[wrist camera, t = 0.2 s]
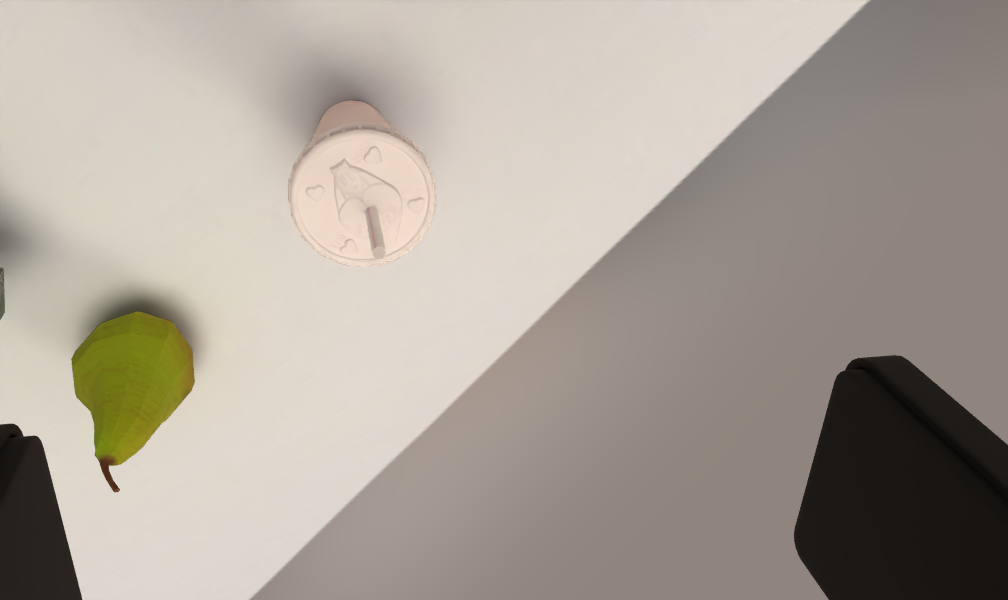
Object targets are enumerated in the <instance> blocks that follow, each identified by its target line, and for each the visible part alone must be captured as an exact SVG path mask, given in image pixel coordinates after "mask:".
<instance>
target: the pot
mask: <svg viewBox="0 0 1008 600" xmlns="http://www.w3.org/2000/svg"><path fill="white" fill-rule="evenodd" d="M4 313H5V296H4V269H3V268H0V319H1V318H2V316H3V314H4Z"/></svg>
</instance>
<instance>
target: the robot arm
mask: <svg viewBox="0 0 1008 600" xmlns="http://www.w3.org/2000/svg"><path fill="white" fill-rule="evenodd" d="M794 541H795V546H796V550H797V552H798V555H799V557H800V558H801V560H802V562H803V563H804V565H805V566H806V568H807V569H808V570H809V572H810V573H811V575H812V576H813V578H814V579H815V580H816V582H817V583H818V585H819V586H820V588H821V589H822V590H823V592H824V593H825V595H826V596H827V597H828V599H829V600H1008V445H1007V444H1006V443H1005V442H1004V441H1002V440H1001V439H1000V438H999V437H998V436H997V435H995V434H994V433H993V432H992V431H991V430H990V429H988V428H987V427H986V426H985V425H984V424H982V423H981V422H980V421H979V420H978V419H977V418H975V417H974V416H973V415H972V414H970V412H968V411H967V410H966V409H965V408H964V407H963V406H961V405H960V404H959V403H958V402H957V401H955V400H954V399H953V398H952V397H951V396H950V395H948V394H947V393H946V392H945V391H944V390H943V389H941V388H940V387H939V386H938V385H937V384H936V383H934V382H933V381H932V380H931V379H929V378H928V377H927V376H926V375H925V374H924V373H923V372H921V371H920V370H919V369H918V368H917V367H916V366H914V365H913V364H912V363H911V362H910V361H908V360H907V359H905V358H904V357H902V356H896V355H893V356H880V357H867V358H857V359H855V360H852V361H851V362H850V363H849V364H848V366H847V368H846V370H845V371H842V372H840V373H839V374H838V375H837V377H836V380H835V382H834V386H833V389H832V393H831V397H830V400H829V404H828V408H827V411H826V415H825V419H824V423H823V426H822V430H821V434H820V437H819V441H818V445H817V448H816V452H815V456H814V460H813V463H812V467H811V470H810V474H809V478H808V482H807V486H806V489H805V493H804V496H803V500H802V504H801V507H800V511H799V515H798V519H797V522H796V526H795V531H794ZM0 600H82V596H81V592H80V589H79V585H78V581H77V577H76V573H75V569H74V565H73V561H72V557H71V553H70V549H69V546H68V542H67V538H66V534H65V530H64V526H63V522H62V518H61V514H60V510H59V506H58V502H57V499H56V495H55V491H54V487H53V483H52V479H51V475H50V471H49V467H48V463H47V459H46V456H45V452H44V448H43V445H42V442H41V440H40V439H39V437H37V436H25V437H24V436H23V434H22V431H21V430H20V428H19V427H18V426H17V425H15V424H1V425H0Z"/></svg>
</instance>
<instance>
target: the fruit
mask: <svg viewBox="0 0 1008 600" xmlns="http://www.w3.org/2000/svg"><path fill="white" fill-rule="evenodd" d="M71 360H72V369H73V378H74V387H75V393H76V396H77V398H78V399H79V400H80V401H81V402H82V403H83V404H84V405H85V406H86V407H87V408H88V409H89V410H90V411H91V414H92V418H93V421H94V430H95V432H94V444H95V456H96V457H97V459H98V460H99V462H100V466H101V469H102V472H103V474H104V476H105V478H106V480H107V482H108V483H109V485H110V487H111V488H112V490H113V491H114V492H119V490H120V489H119V488H118V486H117V485H116V484H115V482H114V481H113V479H112V477H111V474H110V472H109V465H110V466H113V465H120V464H122V463H123V462H125V461H126V460H127V459H129V458H130V457H131V456H133V455H134V454H135V453H137V452H138V451H139V450H140V449H141V448H142V447H143V446H144V445H145V443H146V442H147V441H148V440H149V438H150V437H151V436H152V435H153V433H154V432H155V431H156V430H157V428H158V427H159V426H160V425H161V423H163V422H164V421H166V420H167V419H168V418H169V416H170V415H171V414H172V413H173V412H174V411H175V409H176V408H177V407H178V406H179V405H180V403H181V402H182V401H183V400H184V399H185V398H186V396H187V395H188V394H189V393H190V392H191V390H192V387H193V385H194V382H195V380H194V367H193V355H192V350H191V347H190V346H189V344H188V343H187V342H186V340H185V339H184V338H183V336H182V335H181V333H180V332H179V331H178V329H177V328H176V327H175V325H174V324H173V322H172V321H169V320H165V319H162V318H159V317H155V316H152V315H149V314H145V313H142V312H139V311H136V312H133V313H130V314H127V315H124V316H121V317H118V318H115V319H112V320H109V321H106V322H103V323H101V324H100V325H99V326H98V327H97V328H96V329H95V330H94V331H93V332H92V333H91V334H90V335H89V337H88V338H87V339H86V340H85V341H84V342H83V343H82V344H81V345H80V346H79V348H78V349H77V350H76V351H75V353H74V355H73V357H72V359H71Z"/></svg>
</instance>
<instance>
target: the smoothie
mask: <svg viewBox="0 0 1008 600" xmlns="http://www.w3.org/2000/svg"><path fill="white" fill-rule="evenodd" d="M288 200H289V204H290V210H291V215H292V218H293V221H294V223H295V226H296V228H297V230H298V231H299V233H300V235H301V236H302V237H303V239H304V240H305V241H306V242H307V243H308V244H309V245H310V246H311V247H312V248H313V249H314V250H316V251H317V252H318V253H320V254H321V255H323V256H324V257H326V258H328V259H330V260H333V261H335V262H338V263H341V264H345V265H350V266H374V265H380V264H384V263H387V262H390V261H392V260H395V259H397V258H399V257H401V256H402V255H404V254H405V253H407V252H408V251H410V250H411V249H412V248H413V247H414V246H415V245H416V244H417V243H418V242H419V241H420V240H421V239H422V238H423V236H424V235H425V233H426V232H427V230H428V228H429V226H430V224H431V222H432V219H433V216H434V212H435V207H436V190H435V184H434V180H433V174H432V170H431V168H430V166H429V164H428V162H427V160H426V158H425V156H424V155H423V153H422V152H421V151H420V150H419V149H418V148H417V147H416V145H415V144H414V143H413V142H412V141H411V140H409V139H408V138H406V137H405V136H403V135H402V134H400V133H399V132H397V131H396V130H394V129H393V128H392V127H391V126H390V125H389V124H388V122H387V121H386V120H385V119H384V118H383V117H382V115H381V114H380V113H379V112H378V111H377V110H376V109H375V108H373V107H372V106H370V105H369V104H367V103H364V102H361V101H354V100H350V101H343V102H340V103H337V104H335V105H333V106H332V107H330V108H329V109H328V110H327V111H326V112H325V113H324V115H323V116H322V118H321V119H320V122H319V124H318V127H317V129H316V131H315V134H314V136H313V139H312V141H311V143H309V144H308V145H307V146H306V147H305V148H304V149H303V151H302V152H301V154H300V155H299V157H298V158H297V160H296V161H295V163H294V165H293V169H292V172H291V175H290V178H289V184H288Z"/></svg>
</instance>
